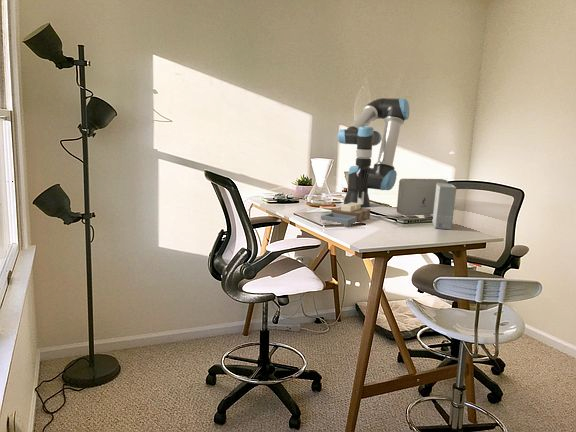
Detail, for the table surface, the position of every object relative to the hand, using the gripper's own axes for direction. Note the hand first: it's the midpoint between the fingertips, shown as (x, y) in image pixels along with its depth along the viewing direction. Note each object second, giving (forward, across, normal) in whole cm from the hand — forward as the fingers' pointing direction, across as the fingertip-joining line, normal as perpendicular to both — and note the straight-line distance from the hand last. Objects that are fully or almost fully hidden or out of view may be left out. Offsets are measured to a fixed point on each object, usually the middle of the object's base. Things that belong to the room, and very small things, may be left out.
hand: (360, 204), depth 239 cm
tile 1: (+1, +14, 0) cm, 14 cm away
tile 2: (+1, +8, 0) cm, 8 cm away
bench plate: (+6, +11, 0) cm, 12 cm away
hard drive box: (+7, -7, +40) cm, 41 cm away
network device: (+7, -21, +25) cm, 33 cm away
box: (+6, +23, 0) cm, 24 cm away
